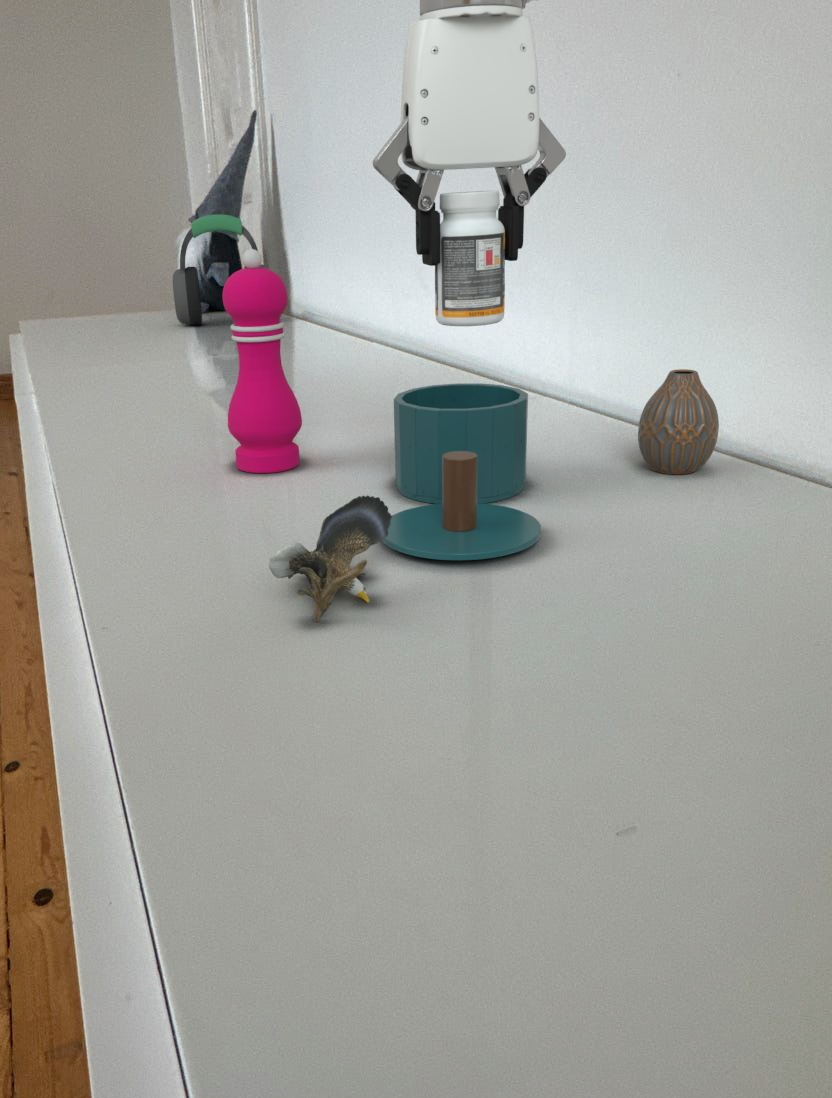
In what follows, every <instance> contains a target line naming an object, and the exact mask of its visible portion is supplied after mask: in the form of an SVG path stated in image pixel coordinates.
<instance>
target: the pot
mask: <svg viewBox="0 0 832 1098" xmlns="http://www.w3.org/2000/svg"><path fill="white" fill-rule="evenodd" d="M528 415H529V393H527V392H526V391H525V390H522V389H520V388H518V387H514V386H509V385H503V384H493V383H479V382H478V383H477V382H475V383H473V382H472V383H471V382H470V383H469V382H468V383H443V384H432V385H427V386H420V387H415V388H410V389H408V390H405V391H402V392H399V393H397V395H396V396H395V397H394V398H393V427H394V428H393V429H394V463H395V464H394V466H395V467H394V469H395V470H394V471H395V483H396V489H397V492H398V493H399V494H401V495H402V496H404V497H406V498H408V499H411V500H413V501H418V502H423V503H428V504H442V455H443V454H445V453H448V452H454V451H468V452H473V453H476V454H477V456H478V460H477V503H483V504H490V503H494V502H495V503H496V502H499V501H503V500H507V499H510V498H513V497H515V496H517V495H519V494H521V493H522V492H523V491H524V489H525V486H526V477H527V476H526V475H527V473H526V472H527V450H528V449H527V448H528V447H527V444H528Z"/></svg>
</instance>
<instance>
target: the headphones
mask: <svg viewBox="0 0 832 1098" xmlns="http://www.w3.org/2000/svg"><path fill="white" fill-rule="evenodd" d="M190 227H191V228H190V229H189V230H188V231H187V233H186V234H185V237H184V238H183V241H182V243H181V247H180V254H179V268H177V269H176V270H174V271H173V274H172V291H173V302H174V309H175V314H176V319H177V320H178V322H179V323H180V324H182V325H191V326H192V325H193V326H201V325H202V324H203V311H202V300H201V291H200V282H199V273H198V268H197V266H187V267H186V256H187V255H186V254H187V251H188V247H189V244H190V242H191V240H192V239H196V238H197V237H199V236H200V235H203V234H206V233H210V232H217V231H219V232H220V231H221V232H229V233H233V234H236V235H238V236H243V237H244V238H245V239H246V241H247V242H248V243H249V245H250V247H251V249H254V250H257V251H258V252H259V249H258V246H257V244H256V241H255V239H254V237H253V236H252V234H251V233H250V232H249V230H248V229H247V228H246V227H245V226H244V225H243V222H242V220H241V218H238V217H236V216H233V215H230V214H222V213H221V214H220V213H219V214H218V213H217V214H207V215H204V216H201V217H198V218H196V219H194V220H193V221H192V222H191V225H190ZM243 266H244V265H243ZM244 268H246V267H245V266H244ZM244 268H243V269H244ZM260 268H266V269H269V268H268V266H266V265H265V264H262V263H261V265H260Z"/></svg>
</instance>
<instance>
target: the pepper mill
mask: <svg viewBox="0 0 832 1098" xmlns="http://www.w3.org/2000/svg"><path fill="white" fill-rule="evenodd" d="M241 259H242V264H243V266H245V267H246V268H241V269H239V270H237V271H234V272H233V273H232V274H230V276H229V277H228V278H227V279H226V281H225V283H224V285H223V288H222V303H223V307H224V310H225V312H226V313H227V314H228V315H229V316H230V318H231V319H232V321H233V323H232V324H231V325H230V327H229V328H230V330H231V334H232V335H231V340H232V341H234V342H236V349H237V354H238V375H237V381H236V384H235V387H234V390H233V393H232V395H231V399H230V402H229V404H228V411H227V428H228V431H229V433H230V434H231V436H232V437H233V438H234V439H235V440H236V441H237V442H238V444H239V446H237V448H235V451H234V452H235V453H234V454H235V464H236V468H237V469H238V470H239V471H242V472H244V473H252V474H270V473H271V474H272V473H281V472H285V471H289V470H292V469H294V468H296V467H298V466H299V464H300V446H299V445H298V444H297V443H296V442H294V439H295V438H296V437H297V435H298V434H299V432H300V430H301V428H302V426H303V418H302V411H301V407H300V404H299V402H298V400H297V397H296V395H295V393H294V391H293V390H292V387H291V386H290V384H289V382H288V380H287V378H286V375H285V372H284V369H283V363H282V356H281V341H282V339H283V338H285V336H286V334H285V332H284V327H285V324H284V323H285V322H283V321H281V320H280V319H281V317H282V315H283V313H284V311H285V310H286V308H287V305H288V301H289V300H288V298H289V297H288V296H289V295H288V291H287V287H286V284H285V282H284V281H283V279H282V277H281V276H280V275H279V274H277V273H276V272H275V271H273V270H271V269H269V268H268V269H266V268H260V265H261V264H262V262H263V258H262V255H261V253H260V252H259V250H258V251H257V250H254V249H252V248H250V249H247V250H245V252H244V253H243V254H242V258H241Z"/></svg>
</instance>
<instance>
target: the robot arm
mask: <svg viewBox="0 0 832 1098" xmlns="http://www.w3.org/2000/svg"><path fill="white" fill-rule="evenodd" d="M532 1H534V2H535V1H539V0H419V20H417V21H415V22H412V23H410V24H409V25H408V29H407V35H406V41H405V48H404V49H405V50H404V58H403V71H402V84H401V103H400V104H401V106H400V110H401V111H400V124H399V125H398V126H397V128H396V129H395V130H394V132H393V133H392V134H391V136H390V137H389V138H388V140H387V141H386V142H385V143H384V145H383V146H382V148H381V149H380V150H379V152H378V153H377V154H376V155H375V156H374V158H373V160H372V166H373V168H374V169H375V170H376V171H377V173H378V174H380V175H381V176H382V177H383V178H384V179H385V180H386V181H387V182H388V183H389V184H390V185H391V186H392V187H393V188H394V190H395V191H396V192H398V193H399V195H400V196H401V197H402V198H403V200H405V201H406V202H407V203H408V204H409V205H410V207H411V209H412V210H413V211H415V250H416V254H417V255H418V256H421V260H422V264H423V265H426V266H430V267H435V266H437V265H438V264H440V224H441V212H440V211H439V210H436V202H435V200H436V197H437V194H438V190H439V187H440V186H441V185H440V184H441V182H442V178H443V175H444V172H445V170H446V171H447V170H448V171H450V170H451V171H452V170H469V169H470V170H471V169H488V168H489V169H491V168H494V171H495V173H496V176H497V178H498V183H499V186H500V189H501V191H502V195H503V198H502V200H503V201H502V205H499V207H498V210H497V219H498V220H499V221H500V222H501V223H502V224H503V226H504V229H505V261H508V262H516V261H518V258H519V250H521V249H523V246H524V234H525V233H524V231H525V228H524V227H525V225H524V224H525V221H524V220H525V206H527V205H528V204H529V203H530V200H531V198H532V197H533V195H535V193H536V192H537V191H538V190H539V189H540V188H541V187H542V185H543V184H544V183H545V182H546V181H547V178H548V176H550V175H552V173H553V172H554V171H555V170H556V169H557V168H558V167H559V166H560V165H561V163H562V162H564V160H565V159H566V157H567V151H566V150H565V148H564V147H563V145H562V144H561V143H560V142H559V140H558V139H557V138H556V137H555V135H554V134H553V132H551V130H550V129H549V128H548V127H547V125H546V123H544V121H543V120H542V119H541V117H540V91H539V90H540V89H539V74H538V63H537V62H538V61H537V54H536V44H535V37H534V30H533V26H532V20H531V16H527V15H526V16H525V15H524V14H523V12H524V11H523V9H526V5H527V4H528V3H530V2H532ZM538 152H539V158H538V159H537V160H536V162H535V163H534V164H533V165H532V166H531V167H530V168H528V169H527V170H526V171H525V173H524V170H523V166H522V165H525V164H528V163H530V162H531V161H533V160H534V158H536V156H537V153H538ZM399 157H400V158H401V161H402V163H403V164H404V166H406V167H408V168H409V169H412V170H415V171H418V174H417V178H416V180H415V179H413V177H412V176H411V175H409V174H407V172H406V171H404V169H403V168H402V167H401V166H400V164H399V161H398V160H399Z"/></svg>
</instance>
